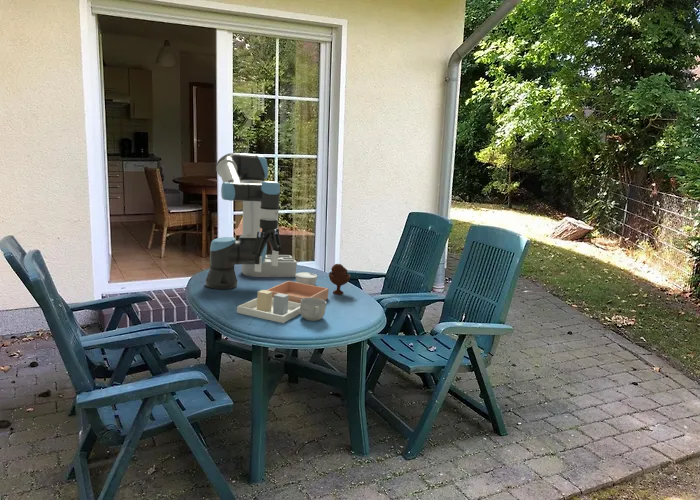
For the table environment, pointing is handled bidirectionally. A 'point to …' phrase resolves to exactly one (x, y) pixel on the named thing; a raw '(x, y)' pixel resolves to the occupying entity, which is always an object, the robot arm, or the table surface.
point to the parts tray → (251, 310)
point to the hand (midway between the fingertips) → (266, 268)
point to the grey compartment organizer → (273, 267)
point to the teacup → (312, 308)
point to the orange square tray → (299, 291)
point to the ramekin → (306, 278)
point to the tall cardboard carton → (264, 300)
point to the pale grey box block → (280, 304)
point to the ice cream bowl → (339, 277)
